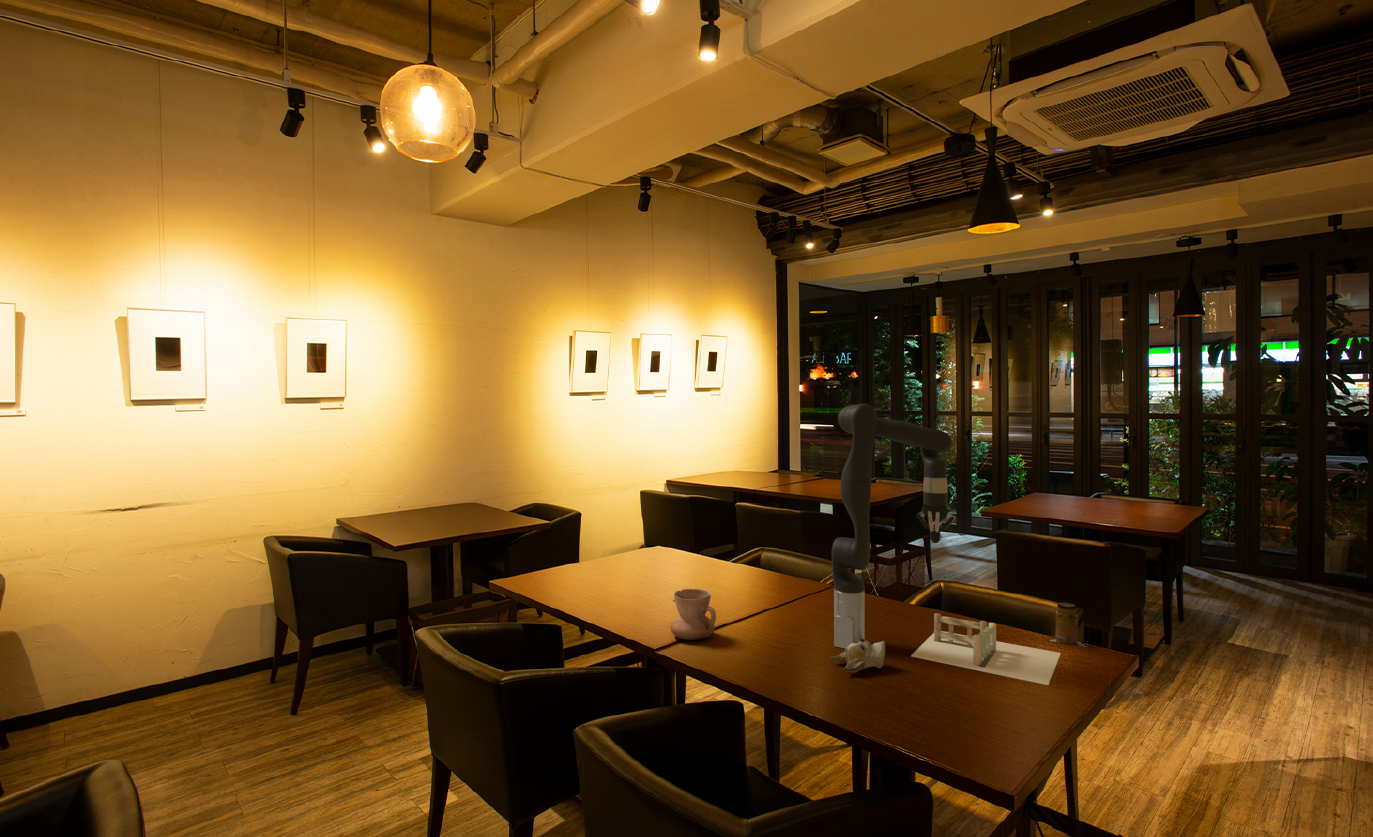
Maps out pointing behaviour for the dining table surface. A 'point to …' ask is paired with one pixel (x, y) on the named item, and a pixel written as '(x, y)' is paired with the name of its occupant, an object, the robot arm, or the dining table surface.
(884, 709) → the dining table surface
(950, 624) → the fence fixed
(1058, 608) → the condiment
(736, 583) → the dining table surface
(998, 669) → the card
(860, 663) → the ceramic sculpture
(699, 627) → the ceramic jug
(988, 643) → the fence gate
